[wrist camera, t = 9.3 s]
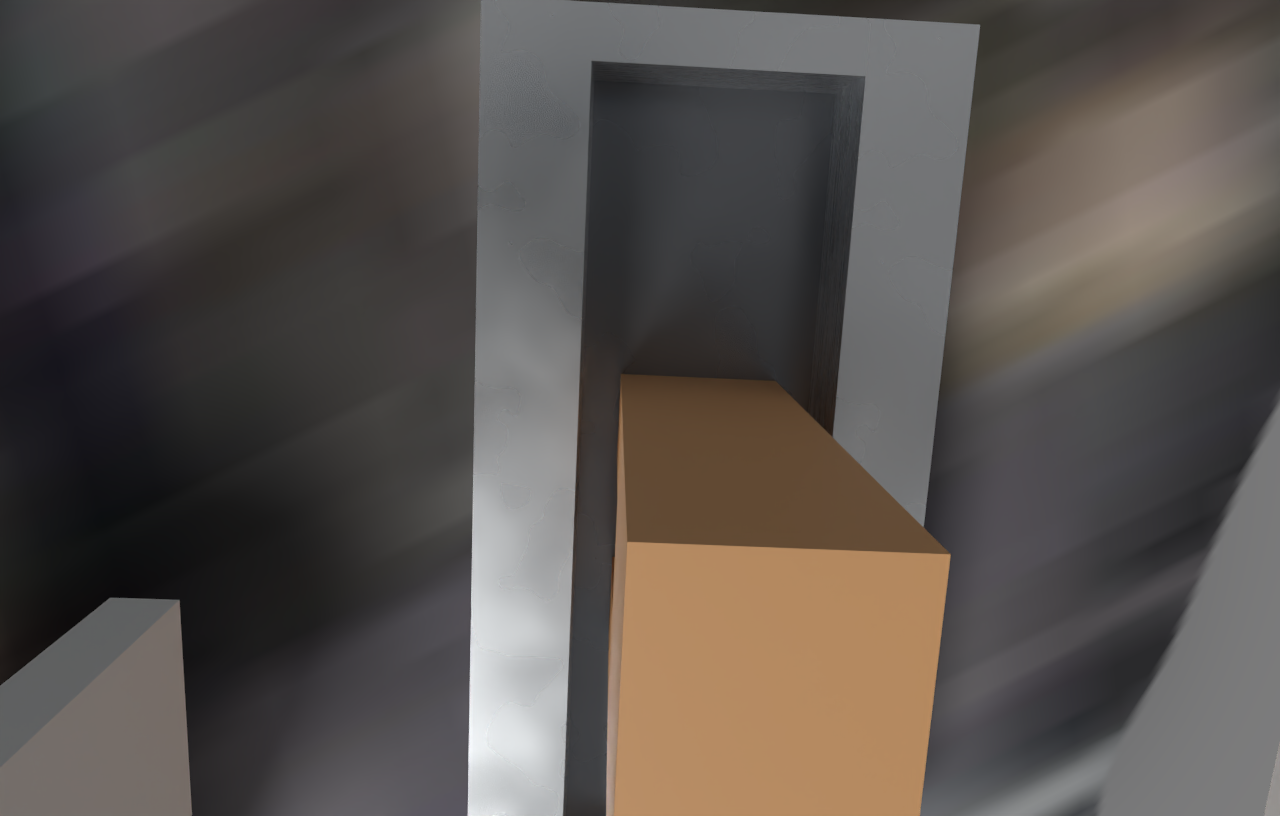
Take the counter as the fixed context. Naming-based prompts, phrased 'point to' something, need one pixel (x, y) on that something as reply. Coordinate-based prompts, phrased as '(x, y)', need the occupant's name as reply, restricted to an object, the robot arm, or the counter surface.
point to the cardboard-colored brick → (762, 614)
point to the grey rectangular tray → (681, 302)
